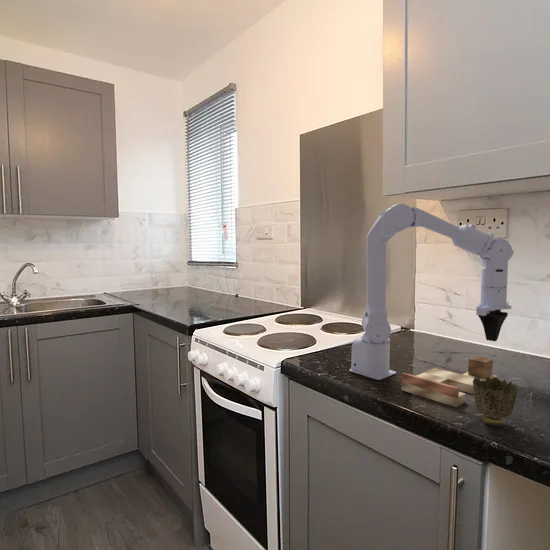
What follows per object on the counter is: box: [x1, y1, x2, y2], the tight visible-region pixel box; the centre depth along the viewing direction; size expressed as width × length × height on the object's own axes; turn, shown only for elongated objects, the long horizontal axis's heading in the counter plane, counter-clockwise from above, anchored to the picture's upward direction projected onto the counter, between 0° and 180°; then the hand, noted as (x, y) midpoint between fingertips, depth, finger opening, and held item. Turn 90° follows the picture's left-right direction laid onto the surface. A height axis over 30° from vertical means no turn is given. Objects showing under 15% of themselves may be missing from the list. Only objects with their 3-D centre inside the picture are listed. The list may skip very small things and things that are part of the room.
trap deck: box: [401, 367, 498, 408], centre depth 96 cm, size 13×21×4 cm, turn 130°
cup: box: [473, 376, 518, 427], centre depth 76 cm, size 8×7×8 cm
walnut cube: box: [467, 355, 494, 379], centre depth 98 cm, size 4×4×4 cm
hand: (491, 340), depth 101 cm, fingers closed
